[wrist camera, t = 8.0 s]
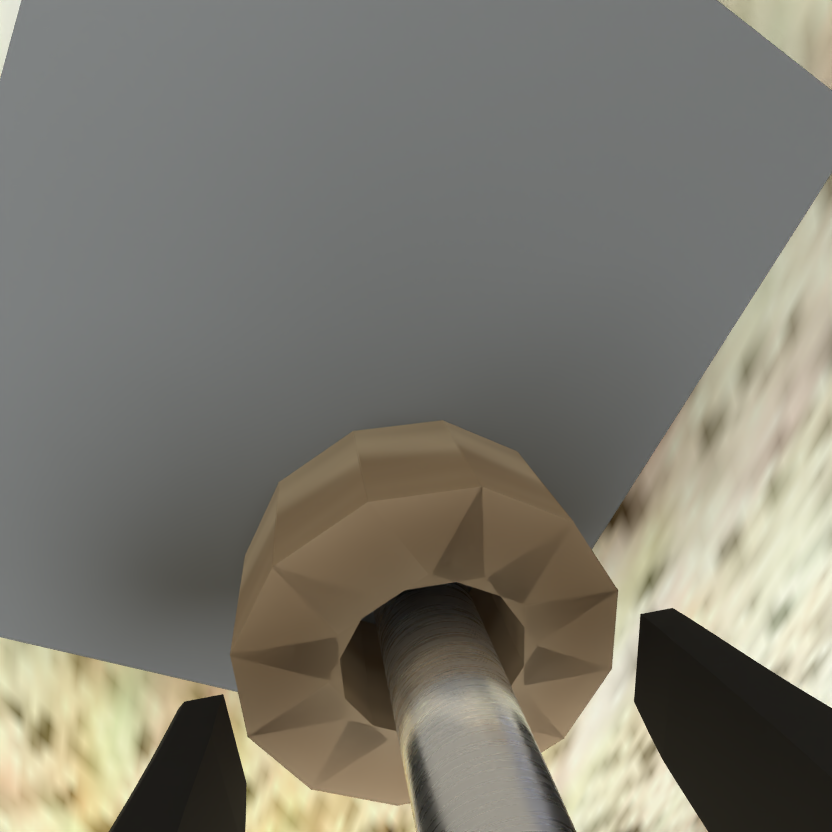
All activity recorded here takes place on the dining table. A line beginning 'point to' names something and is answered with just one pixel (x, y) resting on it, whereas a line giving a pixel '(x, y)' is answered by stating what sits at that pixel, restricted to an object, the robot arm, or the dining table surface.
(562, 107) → the mat
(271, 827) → the dining table surface
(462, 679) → the steel peg
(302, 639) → the maple bead
